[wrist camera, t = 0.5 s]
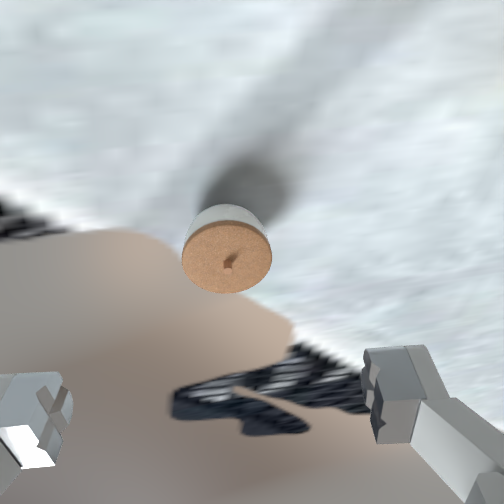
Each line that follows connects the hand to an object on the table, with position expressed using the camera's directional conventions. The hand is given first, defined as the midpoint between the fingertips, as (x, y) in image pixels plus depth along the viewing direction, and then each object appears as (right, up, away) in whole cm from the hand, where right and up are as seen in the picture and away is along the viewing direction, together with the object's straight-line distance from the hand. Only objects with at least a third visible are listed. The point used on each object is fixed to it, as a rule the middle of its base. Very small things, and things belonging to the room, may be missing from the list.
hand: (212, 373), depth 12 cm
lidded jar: (-3, +7, +46) cm, 46 cm away
